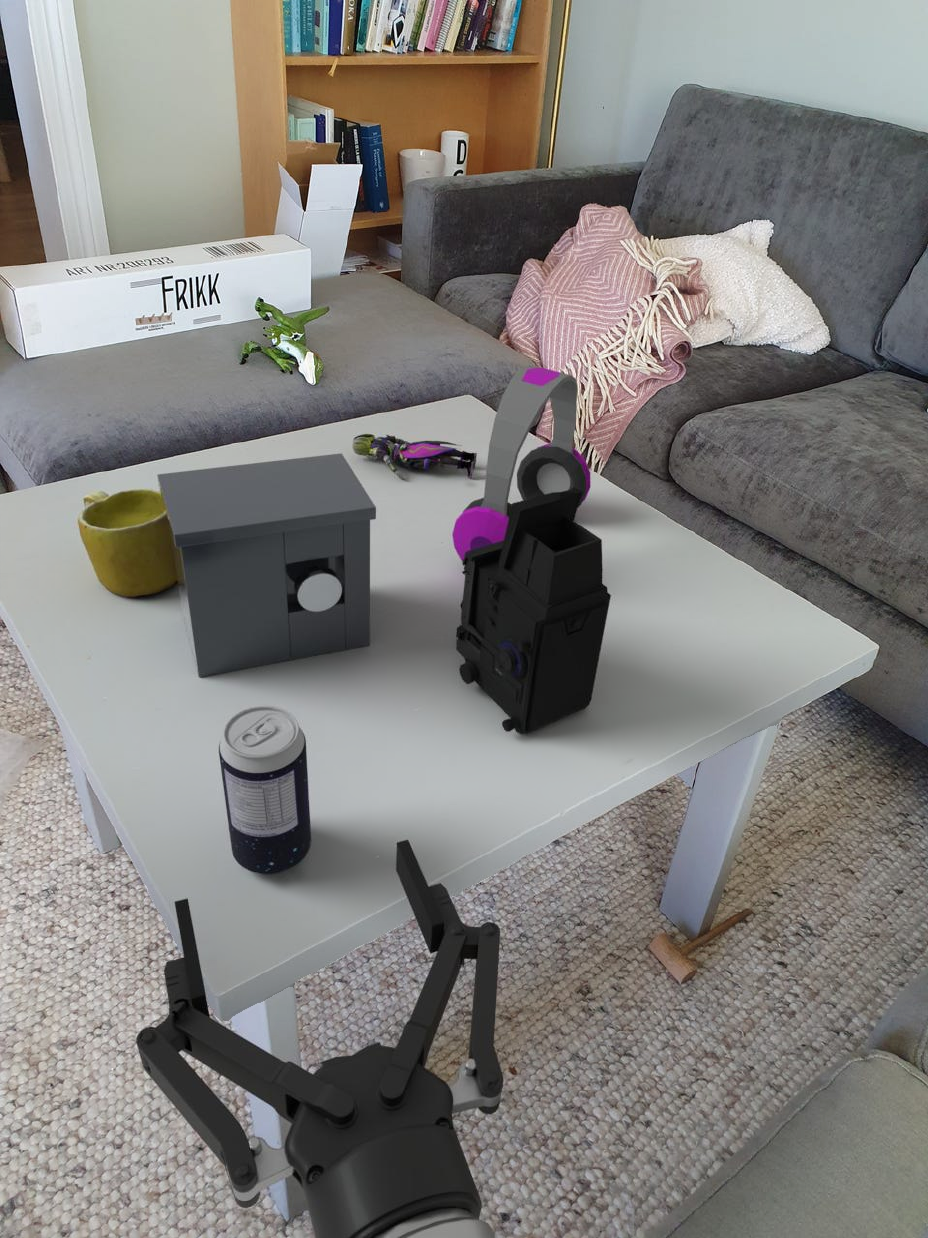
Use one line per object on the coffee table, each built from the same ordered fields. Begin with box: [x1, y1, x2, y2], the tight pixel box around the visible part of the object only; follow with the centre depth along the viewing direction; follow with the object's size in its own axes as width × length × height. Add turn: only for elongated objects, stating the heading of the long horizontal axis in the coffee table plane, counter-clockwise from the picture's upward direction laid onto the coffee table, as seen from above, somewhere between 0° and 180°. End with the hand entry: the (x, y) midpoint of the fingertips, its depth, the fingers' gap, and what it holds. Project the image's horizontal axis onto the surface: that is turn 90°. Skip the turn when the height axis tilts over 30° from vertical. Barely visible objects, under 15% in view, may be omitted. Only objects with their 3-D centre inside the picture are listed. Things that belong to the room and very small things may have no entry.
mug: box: [77, 488, 178, 598], centre depth 93 cm, size 12×10×10 cm
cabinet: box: [156, 452, 377, 678], centre depth 84 cm, size 17×11×15 cm, turn 112°
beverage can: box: [218, 705, 312, 875], centre depth 64 cm, size 6×6×12 cm
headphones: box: [452, 364, 592, 562], centre depth 99 cm, size 21×9×20 cm, turn 152°
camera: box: [455, 487, 612, 734], centre depth 78 cm, size 10×14×20 cm
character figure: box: [351, 433, 478, 481], centre depth 117 cm, size 9×4×16 cm
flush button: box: [294, 566, 342, 612], centre depth 81 cm, size 4×1×4 cm, turn 112°
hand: (297, 882), depth 56 cm, fingers open, 13 cm apart
